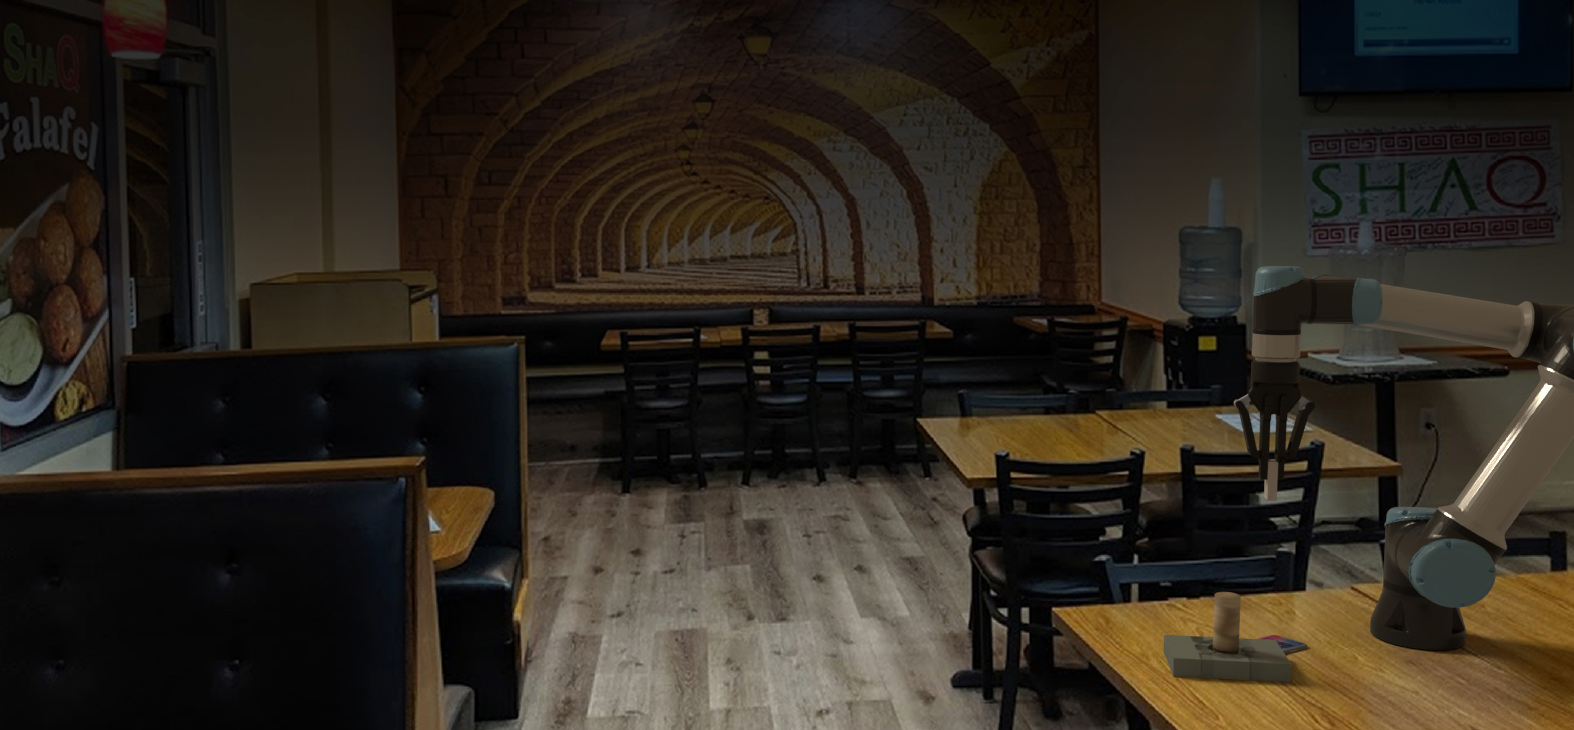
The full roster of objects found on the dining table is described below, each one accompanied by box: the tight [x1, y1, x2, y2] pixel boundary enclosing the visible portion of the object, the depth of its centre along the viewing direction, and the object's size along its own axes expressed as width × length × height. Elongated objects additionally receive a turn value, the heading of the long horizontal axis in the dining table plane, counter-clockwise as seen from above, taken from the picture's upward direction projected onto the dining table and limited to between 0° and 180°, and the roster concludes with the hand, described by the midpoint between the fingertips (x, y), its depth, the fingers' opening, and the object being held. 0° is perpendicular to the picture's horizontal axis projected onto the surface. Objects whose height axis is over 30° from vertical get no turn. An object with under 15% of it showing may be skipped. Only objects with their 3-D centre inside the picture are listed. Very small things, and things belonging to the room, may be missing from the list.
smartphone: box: [1257, 634, 1308, 655], centre depth 217 cm, size 7×1×15 cm
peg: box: [1212, 591, 1242, 655], centre depth 208 cm, size 4×4×12 cm
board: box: [1163, 634, 1292, 683], centre depth 209 cm, size 18×12×3 cm, turn 81°
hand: (1270, 498), depth 214 cm, fingers closed
